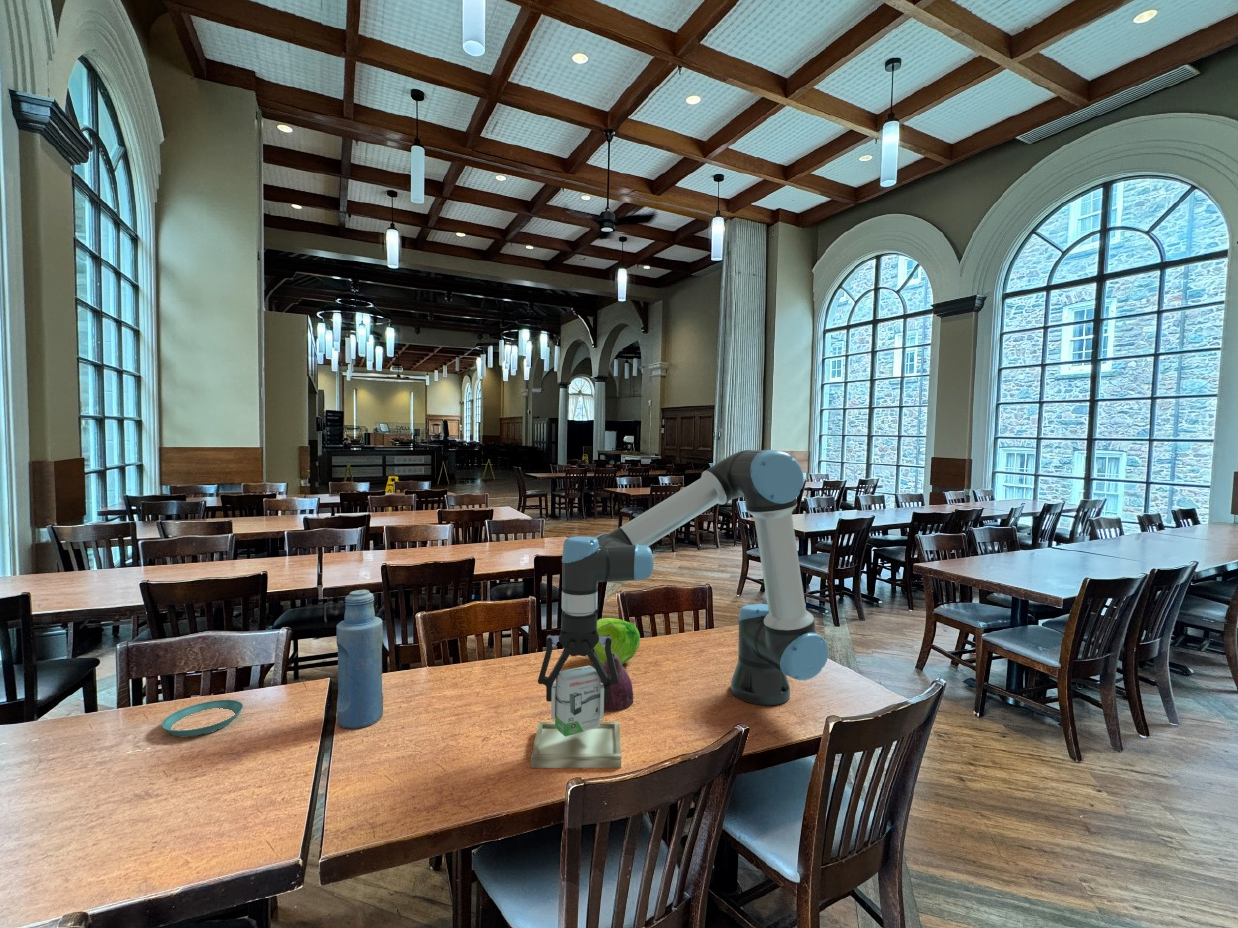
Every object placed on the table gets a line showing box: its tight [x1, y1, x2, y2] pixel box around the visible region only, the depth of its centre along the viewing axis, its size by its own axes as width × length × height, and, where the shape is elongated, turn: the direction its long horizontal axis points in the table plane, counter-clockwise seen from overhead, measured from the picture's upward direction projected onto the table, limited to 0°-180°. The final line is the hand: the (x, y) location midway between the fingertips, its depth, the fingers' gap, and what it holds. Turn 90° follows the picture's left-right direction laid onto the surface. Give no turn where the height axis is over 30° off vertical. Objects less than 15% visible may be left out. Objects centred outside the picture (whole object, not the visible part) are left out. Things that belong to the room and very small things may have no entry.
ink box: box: [554, 665, 601, 736], centre depth 117 cm, size 9×5×12 cm, turn 122°
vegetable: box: [601, 653, 634, 712], centre depth 138 cm, size 10×10×15 cm
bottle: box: [336, 589, 384, 730], centre depth 128 cm, size 10×10×30 cm
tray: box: [530, 721, 622, 769], centre depth 117 cm, size 18×14×2 cm
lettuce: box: [586, 617, 641, 665], centre depth 164 cm, size 15×20×14 cm
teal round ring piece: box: [161, 699, 244, 737], centre depth 125 cm, size 15×15×3 cm
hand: (577, 715), depth 117 cm, fingers closed on ink box, 9 cm apart
